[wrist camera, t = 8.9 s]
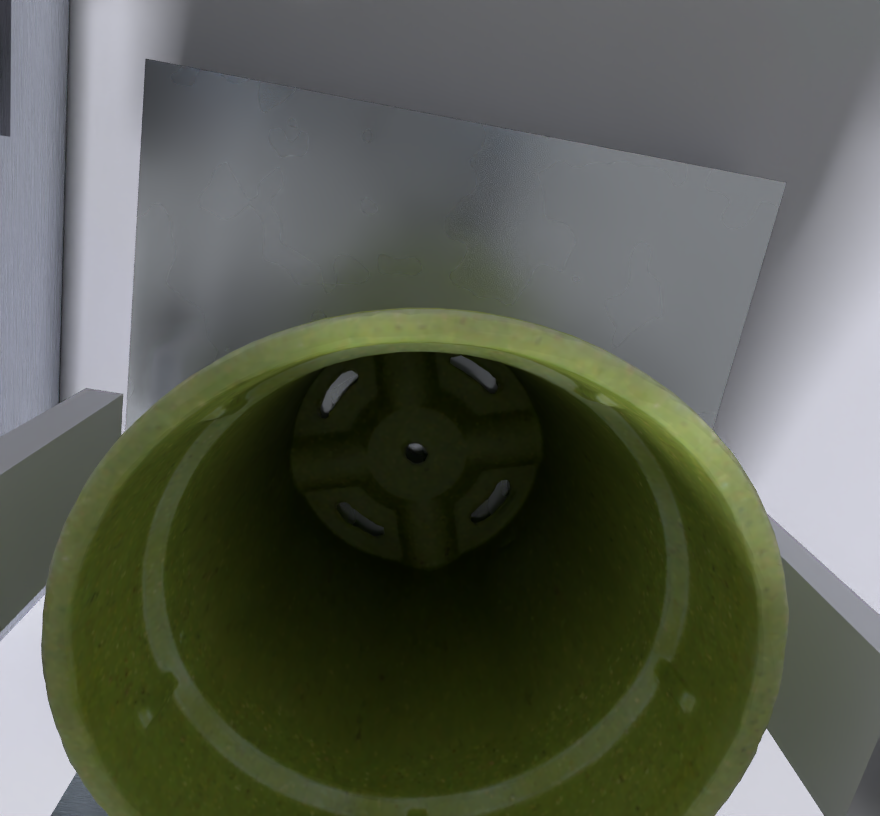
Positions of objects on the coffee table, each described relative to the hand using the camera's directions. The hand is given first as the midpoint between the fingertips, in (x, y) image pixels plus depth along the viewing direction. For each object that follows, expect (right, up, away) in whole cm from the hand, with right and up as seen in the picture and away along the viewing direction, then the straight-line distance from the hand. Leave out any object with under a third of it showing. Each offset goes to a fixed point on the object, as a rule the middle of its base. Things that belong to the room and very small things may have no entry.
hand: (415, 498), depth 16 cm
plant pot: (0, +1, +2) cm, 2 cm away
